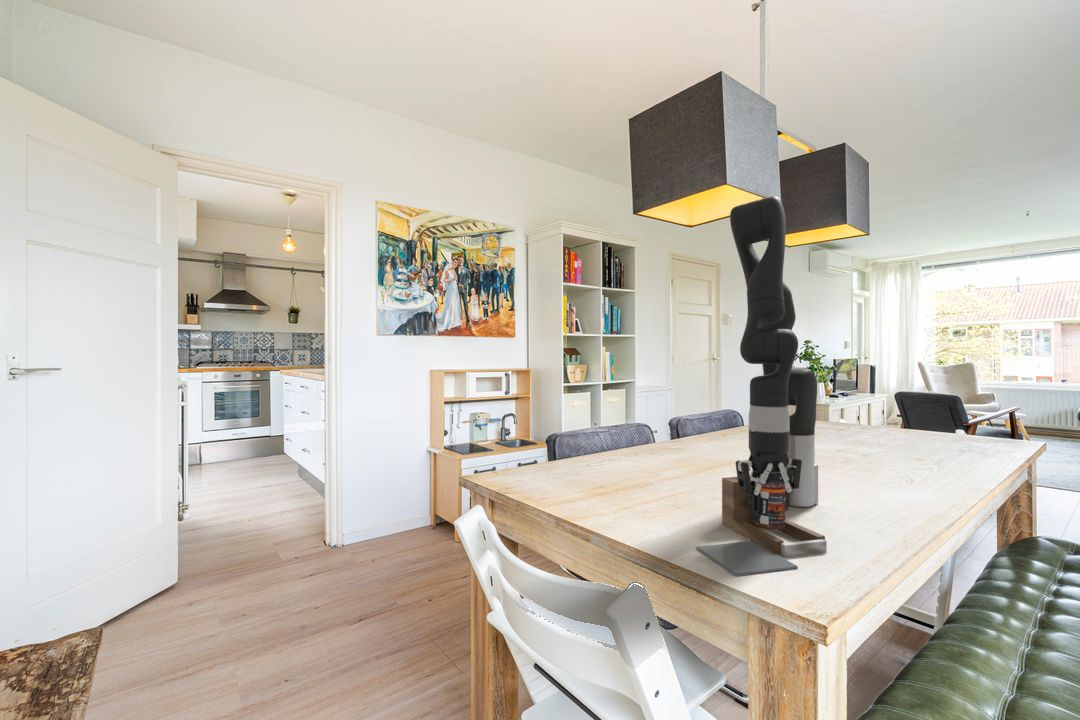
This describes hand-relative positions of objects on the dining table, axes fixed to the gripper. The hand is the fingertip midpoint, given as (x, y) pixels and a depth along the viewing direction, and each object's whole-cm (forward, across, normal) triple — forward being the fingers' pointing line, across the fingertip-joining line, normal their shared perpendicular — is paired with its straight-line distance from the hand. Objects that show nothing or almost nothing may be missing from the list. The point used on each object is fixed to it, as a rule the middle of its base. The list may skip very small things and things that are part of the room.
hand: (768, 510), depth 99 cm
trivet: (+5, +12, +8) cm, 15 cm away
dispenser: (+5, 0, 0) cm, 5 cm away
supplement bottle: (+3, 0, 0) cm, 3 cm away
